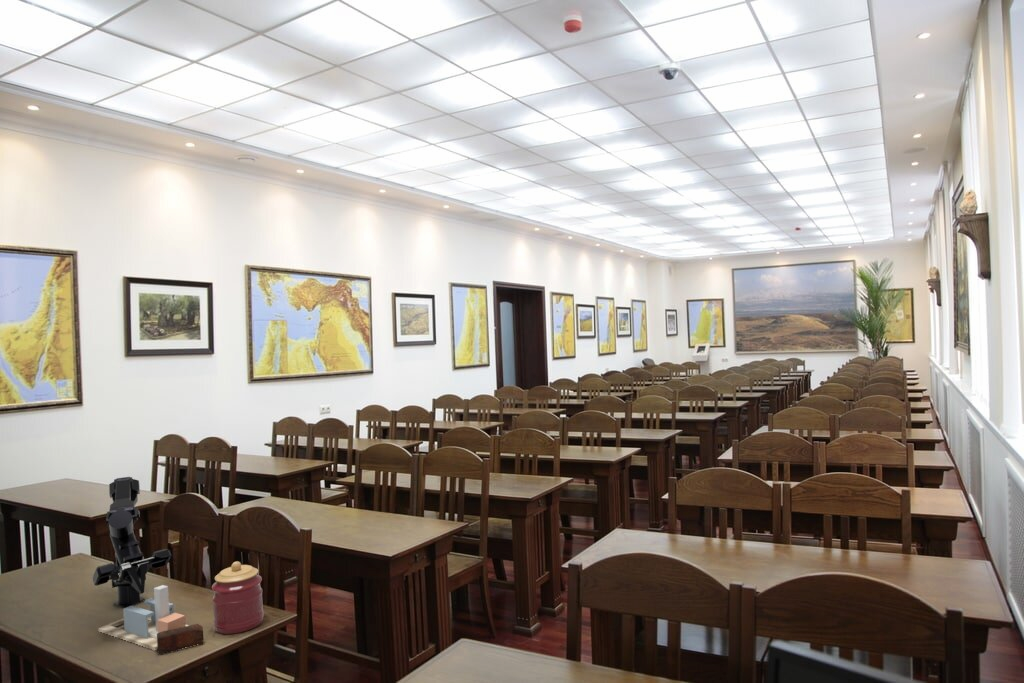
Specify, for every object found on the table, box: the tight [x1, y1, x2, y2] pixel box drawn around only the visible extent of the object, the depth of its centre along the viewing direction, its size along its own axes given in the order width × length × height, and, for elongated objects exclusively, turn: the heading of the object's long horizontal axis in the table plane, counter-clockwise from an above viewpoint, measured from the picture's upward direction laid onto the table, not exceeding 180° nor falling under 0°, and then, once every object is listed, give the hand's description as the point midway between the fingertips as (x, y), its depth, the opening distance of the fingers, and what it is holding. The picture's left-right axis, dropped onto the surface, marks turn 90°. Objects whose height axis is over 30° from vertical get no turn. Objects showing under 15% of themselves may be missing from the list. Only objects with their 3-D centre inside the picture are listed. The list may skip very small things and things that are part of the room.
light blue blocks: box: [123, 597, 175, 639], centre depth 181 cm, size 10×8×6 cm
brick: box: [157, 623, 204, 655], centre depth 171 cm, size 11×4×5 cm, turn 121°
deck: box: [97, 616, 190, 651], centre depth 181 cm, size 27×12×1 cm, turn 60°
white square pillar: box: [149, 584, 187, 639], centre depth 176 cm, size 9×6×12 cm, turn 60°
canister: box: [211, 561, 265, 635], centre depth 183 cm, size 13×13×18 cm
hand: (142, 592), depth 180 cm, fingers closed
